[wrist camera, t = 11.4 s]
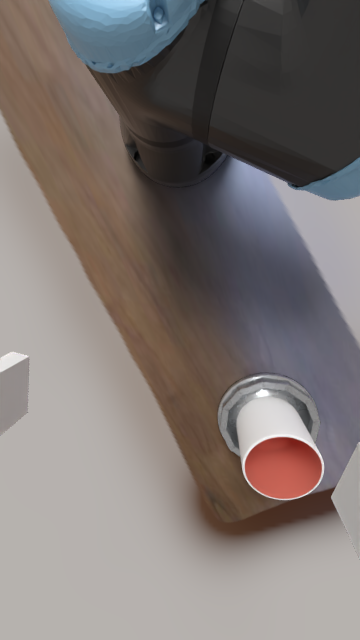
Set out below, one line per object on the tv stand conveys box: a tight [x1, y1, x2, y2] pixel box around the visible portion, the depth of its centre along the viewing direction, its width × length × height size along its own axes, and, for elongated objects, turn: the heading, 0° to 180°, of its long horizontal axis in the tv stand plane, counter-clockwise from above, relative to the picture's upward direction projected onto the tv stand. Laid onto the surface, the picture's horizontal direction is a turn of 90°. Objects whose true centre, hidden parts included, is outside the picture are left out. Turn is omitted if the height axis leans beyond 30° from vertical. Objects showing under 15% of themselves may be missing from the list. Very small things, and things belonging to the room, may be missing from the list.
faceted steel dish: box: [218, 373, 321, 457], centre depth 41 cm, size 16×16×2 cm
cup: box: [236, 396, 324, 500], centre depth 37 cm, size 10×10×10 cm
